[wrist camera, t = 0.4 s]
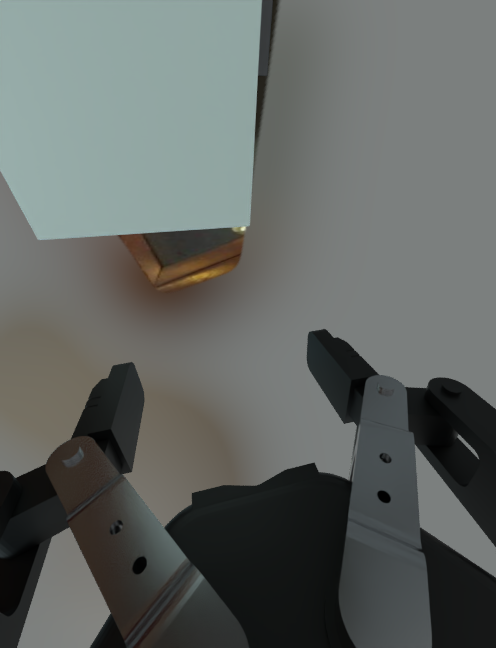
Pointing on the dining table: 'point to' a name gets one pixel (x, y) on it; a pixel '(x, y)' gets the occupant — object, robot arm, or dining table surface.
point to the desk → (130, 112)
